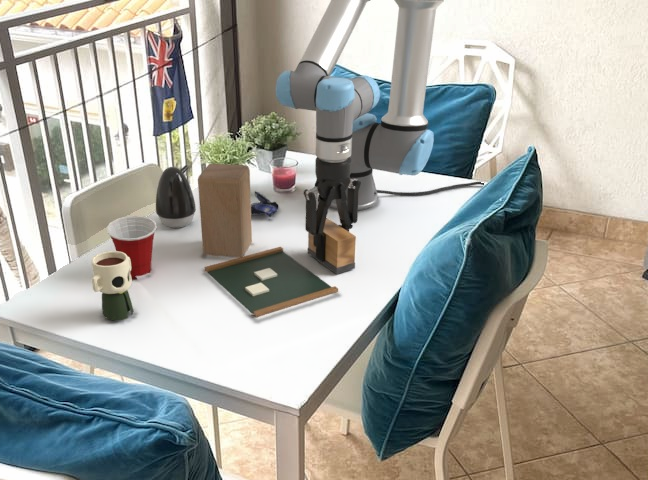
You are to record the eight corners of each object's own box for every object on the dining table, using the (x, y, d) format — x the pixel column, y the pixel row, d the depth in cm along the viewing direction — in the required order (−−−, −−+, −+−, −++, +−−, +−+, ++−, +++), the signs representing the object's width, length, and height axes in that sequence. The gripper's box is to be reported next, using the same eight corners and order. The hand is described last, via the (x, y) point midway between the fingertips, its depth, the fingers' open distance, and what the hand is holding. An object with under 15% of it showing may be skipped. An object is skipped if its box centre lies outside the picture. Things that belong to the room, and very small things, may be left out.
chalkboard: (280, 253, 167) (280, 246, 166) (338, 295, 149) (338, 288, 148) (204, 273, 158) (204, 266, 157) (256, 321, 141) (256, 313, 140)
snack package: (254, 201, 194) (224, 213, 187) (257, 180, 190) (227, 191, 183) (286, 219, 189) (257, 232, 181) (290, 197, 185) (260, 210, 177)
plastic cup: (119, 289, 153) (112, 239, 146) (109, 268, 161) (101, 220, 155) (167, 279, 156) (162, 230, 150) (154, 259, 165) (149, 212, 158)
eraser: (325, 248, 165) (325, 216, 161) (355, 268, 157) (356, 236, 152) (307, 253, 163) (307, 221, 159) (336, 274, 155) (337, 241, 150)
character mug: (114, 332, 138) (104, 274, 131) (87, 323, 141) (76, 265, 134) (148, 307, 146) (141, 251, 139) (122, 299, 149) (114, 244, 142)
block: (243, 261, 163) (239, 179, 153) (202, 257, 165) (196, 176, 154) (252, 243, 172) (250, 164, 161) (213, 240, 173) (208, 161, 162)
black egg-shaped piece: (205, 222, 182) (201, 165, 174) (176, 235, 176) (170, 177, 168) (178, 212, 188) (173, 157, 180) (149, 225, 181) (142, 168, 173)
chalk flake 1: (269, 270, 157) (269, 267, 157) (277, 276, 155) (277, 273, 155) (254, 274, 156) (254, 272, 155) (261, 280, 153) (261, 278, 153)
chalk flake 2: (261, 284, 152) (261, 282, 151) (269, 291, 149) (269, 289, 149) (245, 289, 150) (244, 287, 150) (252, 296, 147) (252, 293, 147)
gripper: (306, 170, 140) (306, 272, 153) (378, 153, 148) (372, 252, 160) (287, 160, 146) (288, 259, 158) (357, 144, 153) (353, 240, 166)
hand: (330, 255), depth 159 cm, fingers closed on eraser, 5 cm apart
